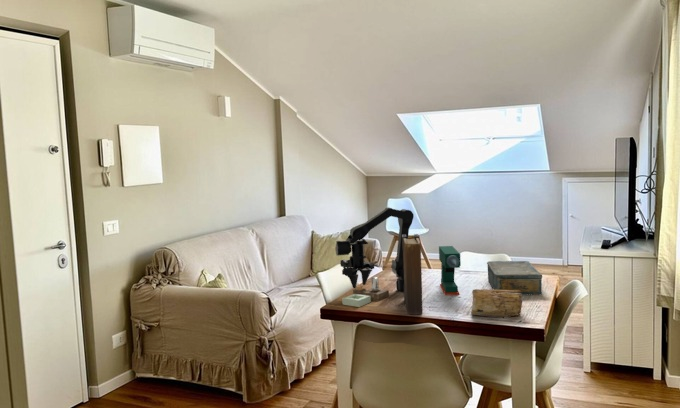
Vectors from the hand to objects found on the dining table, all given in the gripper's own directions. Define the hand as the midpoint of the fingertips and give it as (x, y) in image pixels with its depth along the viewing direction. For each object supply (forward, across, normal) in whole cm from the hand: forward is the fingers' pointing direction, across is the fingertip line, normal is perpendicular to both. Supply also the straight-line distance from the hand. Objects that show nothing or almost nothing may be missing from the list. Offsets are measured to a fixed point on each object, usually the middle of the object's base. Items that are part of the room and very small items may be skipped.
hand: (359, 286), depth 259 cm
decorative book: (+5, +6, +32) cm, 33 cm away
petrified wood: (+5, -1, +66) cm, 67 cm away
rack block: (+4, +13, +8) cm, 16 cm away
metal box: (+5, -48, +56) cm, 74 cm away
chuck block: (+4, 0, +9) cm, 10 cm away
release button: (+4, 0, 0) cm, 4 cm away
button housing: (+4, 0, 0) cm, 4 cm away
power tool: (+5, -23, +36) cm, 43 cm away
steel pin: (+4, 0, +9) cm, 10 cm away
